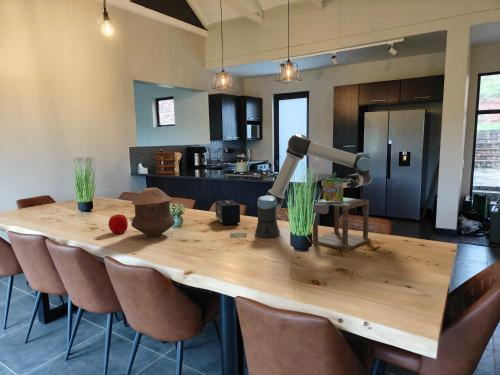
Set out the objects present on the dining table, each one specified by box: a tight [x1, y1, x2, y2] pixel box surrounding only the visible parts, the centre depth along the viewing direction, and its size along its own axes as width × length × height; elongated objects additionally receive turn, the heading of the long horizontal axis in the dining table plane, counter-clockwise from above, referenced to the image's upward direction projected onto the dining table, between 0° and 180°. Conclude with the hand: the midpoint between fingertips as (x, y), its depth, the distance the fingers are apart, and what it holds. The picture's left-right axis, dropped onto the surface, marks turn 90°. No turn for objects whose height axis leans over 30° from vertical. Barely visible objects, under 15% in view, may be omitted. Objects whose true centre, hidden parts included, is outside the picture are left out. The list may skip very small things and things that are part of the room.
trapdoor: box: [314, 197, 363, 215], centre depth 184 cm, size 36×16×4 cm, turn 132°
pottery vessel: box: [130, 187, 176, 238], centre depth 211 cm, size 26×26×30 cm
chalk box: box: [322, 171, 344, 201], centre depth 183 cm, size 9×9×15 cm
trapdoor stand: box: [311, 198, 371, 252], centre depth 191 cm, size 25×23×24 cm
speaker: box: [215, 199, 241, 226], centre depth 243 cm, size 22×13×15 cm, turn 17°
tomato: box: [108, 213, 129, 235], centre depth 220 cm, size 12×12×13 cm
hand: (332, 184), depth 182 cm, fingers closed on chalk box, 12 cm apart
